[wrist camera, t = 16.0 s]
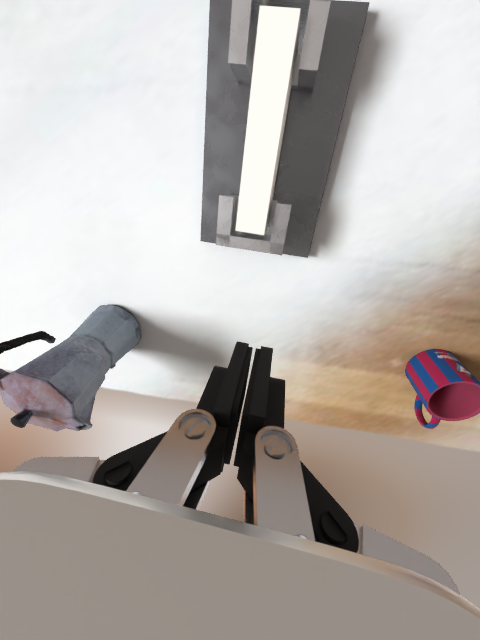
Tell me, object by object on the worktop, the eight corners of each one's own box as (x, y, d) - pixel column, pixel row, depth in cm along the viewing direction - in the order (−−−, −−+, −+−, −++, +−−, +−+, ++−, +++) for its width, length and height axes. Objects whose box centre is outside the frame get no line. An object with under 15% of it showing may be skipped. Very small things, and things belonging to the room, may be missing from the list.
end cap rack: (365, 10, 23) (389, -44, 17) (307, 255, 33) (310, 268, 28) (213, 1, 24) (191, -51, 19) (203, 239, 35) (187, 249, 29)
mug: (468, 357, 36) (503, 391, 30) (424, 405, 41) (447, 442, 35) (422, 342, 36) (448, 373, 30) (384, 392, 41) (400, 427, 35)
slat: (298, 41, 23) (300, 8, 19) (267, 228, 31) (263, 235, 26) (265, 39, 23) (259, 5, 19) (243, 224, 31) (235, 230, 27)
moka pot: (144, 366, 48) (60, 471, 30) (69, 321, 46) (-68, 405, 28) (164, 331, 43) (79, 431, 26) (81, 279, 41) (-72, 349, 24)
